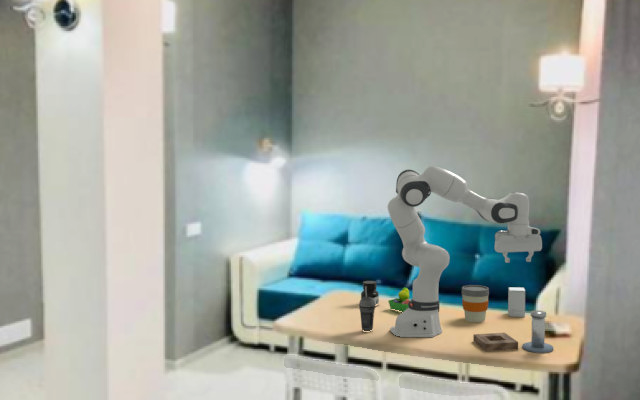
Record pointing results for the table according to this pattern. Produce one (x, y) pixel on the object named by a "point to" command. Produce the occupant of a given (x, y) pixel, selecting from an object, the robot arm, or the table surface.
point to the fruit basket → (400, 301)
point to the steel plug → (538, 328)
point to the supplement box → (516, 302)
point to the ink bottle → (370, 291)
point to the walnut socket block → (495, 341)
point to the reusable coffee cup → (475, 302)
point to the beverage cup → (367, 312)
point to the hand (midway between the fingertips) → (518, 262)
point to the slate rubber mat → (529, 348)
